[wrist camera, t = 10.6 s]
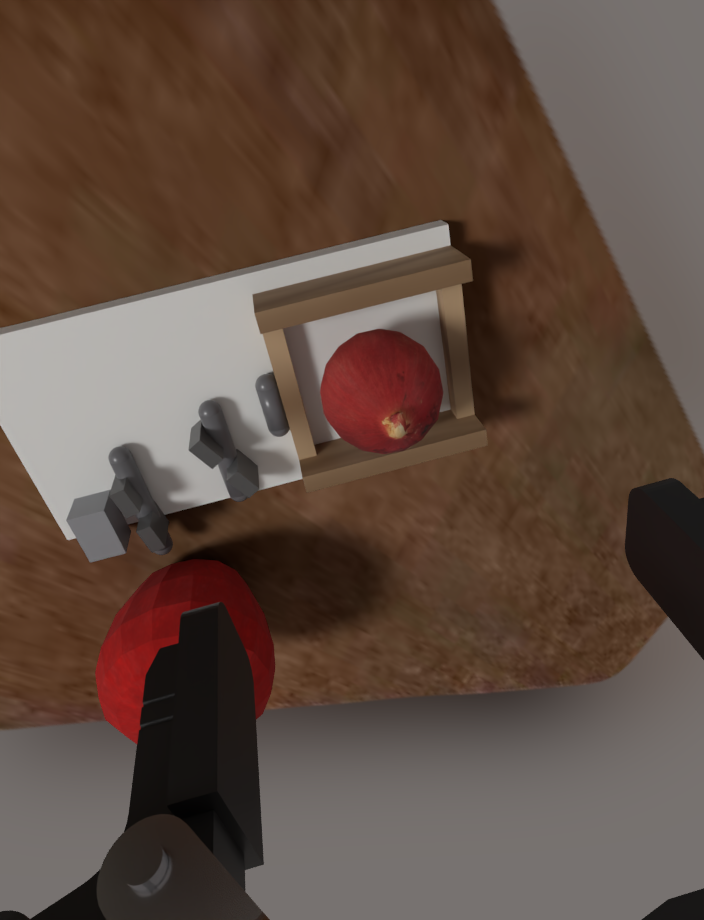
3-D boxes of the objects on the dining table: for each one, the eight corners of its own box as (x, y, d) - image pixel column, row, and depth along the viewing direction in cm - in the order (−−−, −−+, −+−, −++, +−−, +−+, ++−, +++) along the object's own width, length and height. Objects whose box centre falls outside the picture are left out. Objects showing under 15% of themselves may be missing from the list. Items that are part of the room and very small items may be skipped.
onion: (441, 347, 33) (496, 412, 26) (378, 429, 35) (414, 510, 28) (354, 287, 30) (389, 343, 24) (291, 380, 32) (307, 455, 25)
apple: (176, 498, 36) (157, 637, 27) (300, 569, 40) (320, 709, 31) (85, 603, 39) (40, 760, 30) (210, 658, 43) (205, 811, 34)
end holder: (252, 294, 30) (254, 313, 27) (450, 245, 30) (470, 259, 27) (301, 463, 35) (306, 492, 32) (468, 420, 35) (487, 445, 33)
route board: (-37, 337, 30) (-67, 365, 26) (440, 219, 30) (464, 233, 27) (87, 554, 37) (74, 595, 34) (467, 454, 38) (487, 486, 35)
